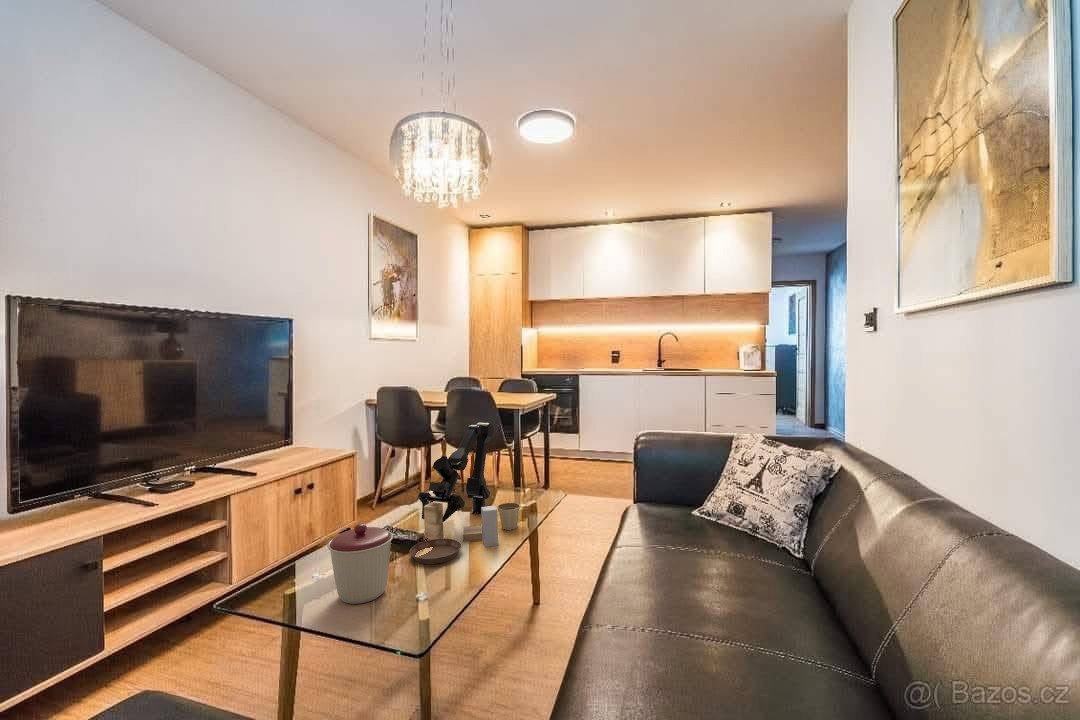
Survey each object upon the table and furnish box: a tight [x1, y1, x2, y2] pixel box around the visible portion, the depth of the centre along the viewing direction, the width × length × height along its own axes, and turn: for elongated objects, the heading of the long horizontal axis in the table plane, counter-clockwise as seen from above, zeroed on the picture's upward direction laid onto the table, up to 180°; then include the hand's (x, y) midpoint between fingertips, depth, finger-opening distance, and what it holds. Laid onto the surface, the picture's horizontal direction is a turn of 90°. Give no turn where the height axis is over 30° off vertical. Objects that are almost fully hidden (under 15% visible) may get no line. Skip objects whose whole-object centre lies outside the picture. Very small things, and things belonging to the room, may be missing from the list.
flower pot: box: [496, 502, 521, 531], centre depth 197 cm, size 9×9×9 cm
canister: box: [327, 523, 394, 605], centre depth 144 cm, size 18×18×21 cm
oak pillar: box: [423, 501, 445, 540], centre depth 187 cm, size 5×5×13 cm
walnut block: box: [462, 525, 482, 542], centre depth 188 cm, size 8×8×3 cm
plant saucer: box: [409, 538, 462, 565], centre depth 172 cm, size 18×18×3 cm
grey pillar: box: [480, 505, 499, 548], centre depth 181 cm, size 5×5×13 cm
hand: (432, 520), depth 187 cm, fingers open, 9 cm apart
